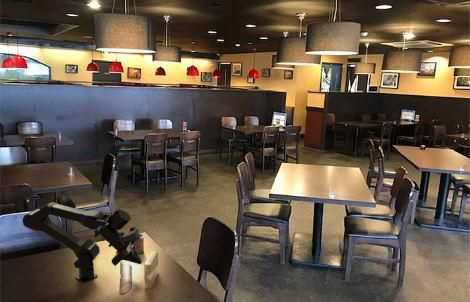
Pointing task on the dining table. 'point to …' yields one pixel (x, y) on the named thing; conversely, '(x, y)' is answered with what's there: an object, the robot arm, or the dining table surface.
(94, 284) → the dining table surface
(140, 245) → the brown upright container
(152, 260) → the brown tile
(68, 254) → the dining table surface
